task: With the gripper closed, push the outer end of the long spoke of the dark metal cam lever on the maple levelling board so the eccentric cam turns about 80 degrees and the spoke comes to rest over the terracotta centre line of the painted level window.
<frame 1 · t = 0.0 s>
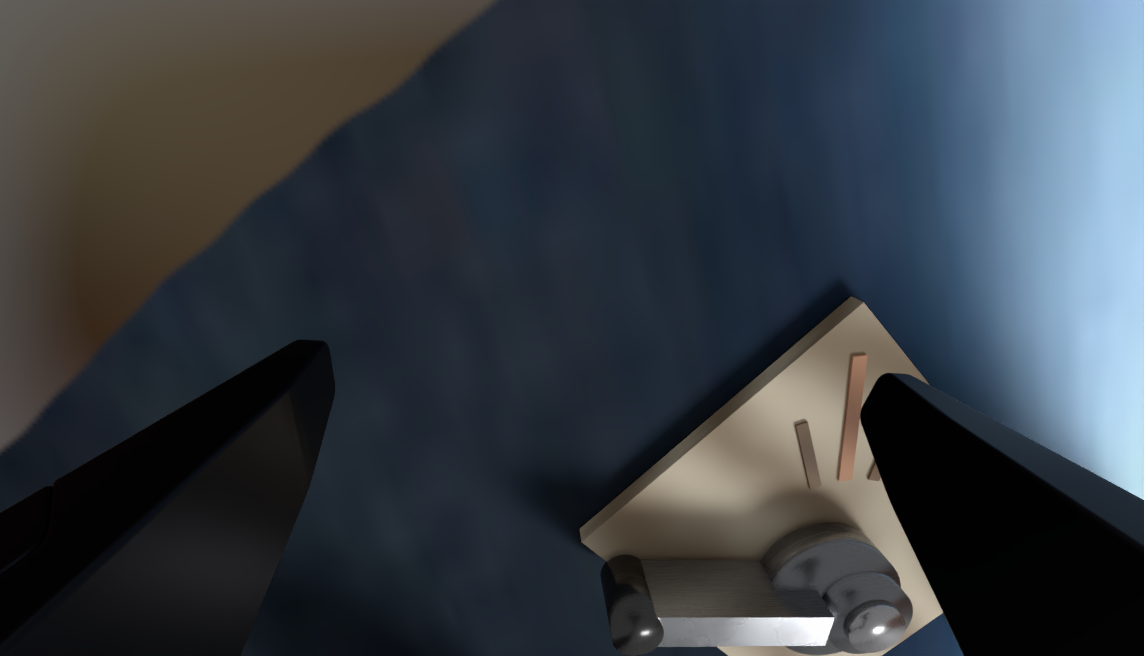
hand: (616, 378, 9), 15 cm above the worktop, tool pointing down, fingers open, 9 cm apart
cam: (756, 602, 27), point 3 cm above the worktop, hinge at 130.0°
level board: (818, 526, 30), on the worktop
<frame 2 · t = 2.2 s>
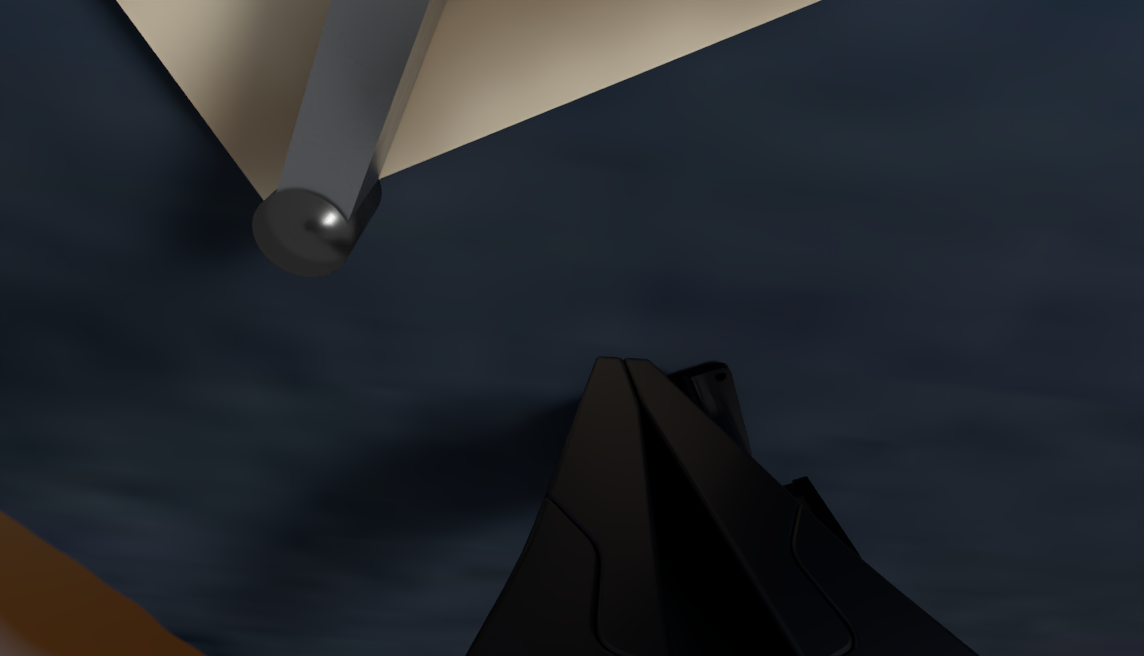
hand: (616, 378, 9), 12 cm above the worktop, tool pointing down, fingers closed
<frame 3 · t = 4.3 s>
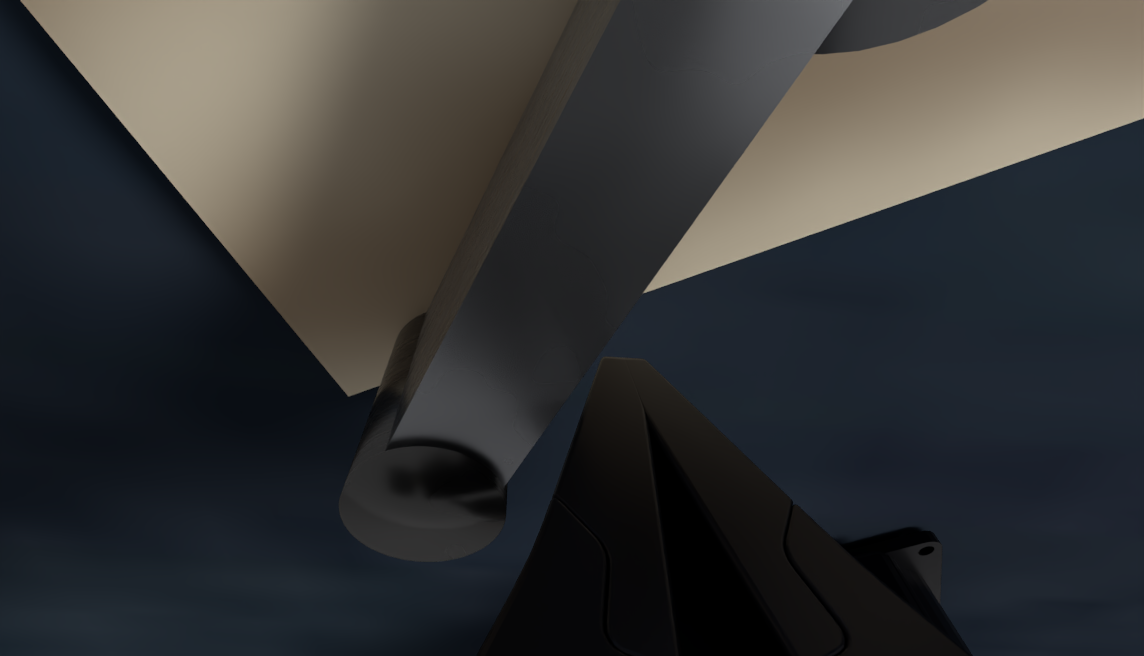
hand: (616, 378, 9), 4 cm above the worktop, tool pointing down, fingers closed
cam: (645, 69, 7), point 3 cm above the worktop, hinge at 130.0°, touching gripper
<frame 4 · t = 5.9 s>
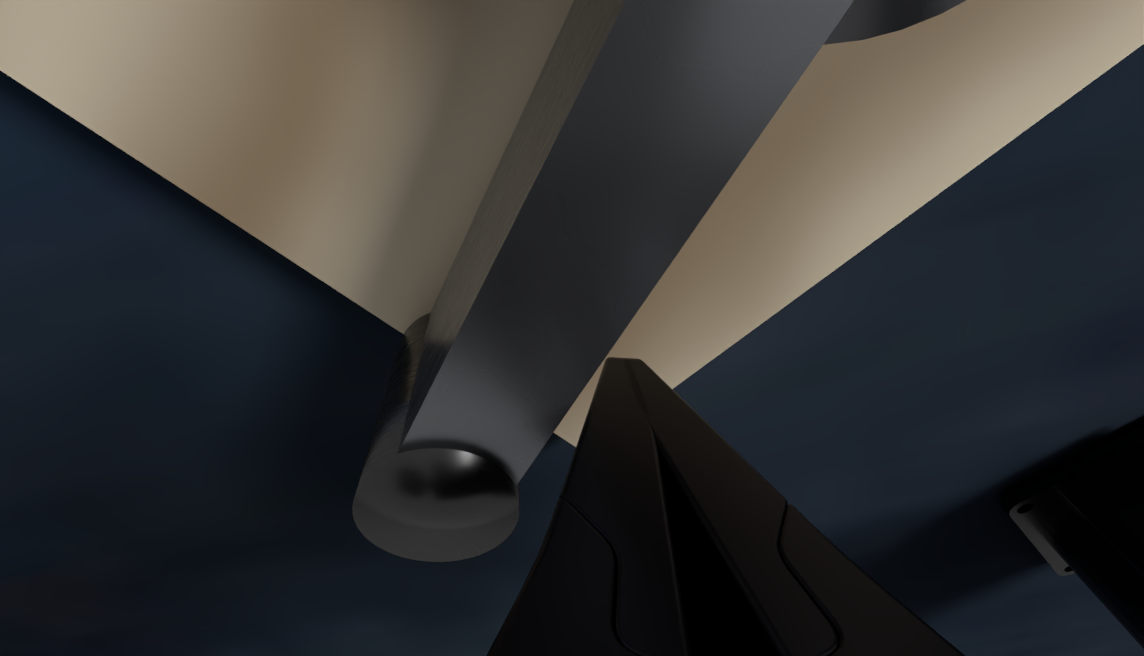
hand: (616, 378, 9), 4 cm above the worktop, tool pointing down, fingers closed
cam: (648, 64, 6), point 3 cm above the worktop, hinge at 107.4°, touching gripper
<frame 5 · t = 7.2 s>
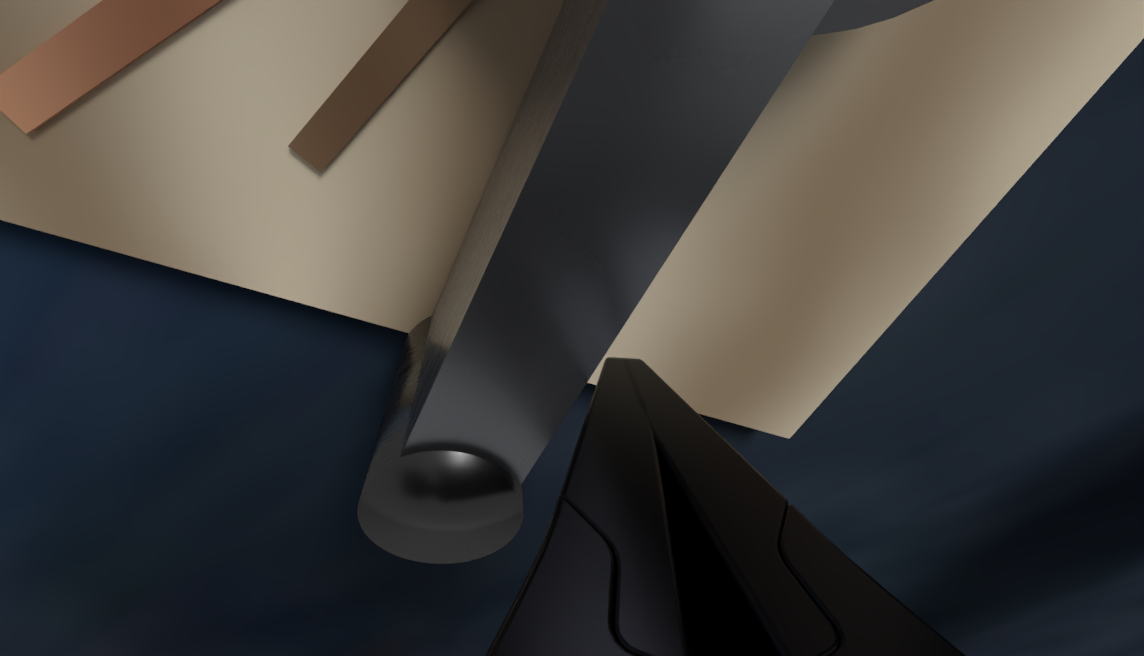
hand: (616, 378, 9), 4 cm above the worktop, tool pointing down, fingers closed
cam: (639, 60, 6), point 3 cm above the worktop, hinge at 86.8°, touching gripper
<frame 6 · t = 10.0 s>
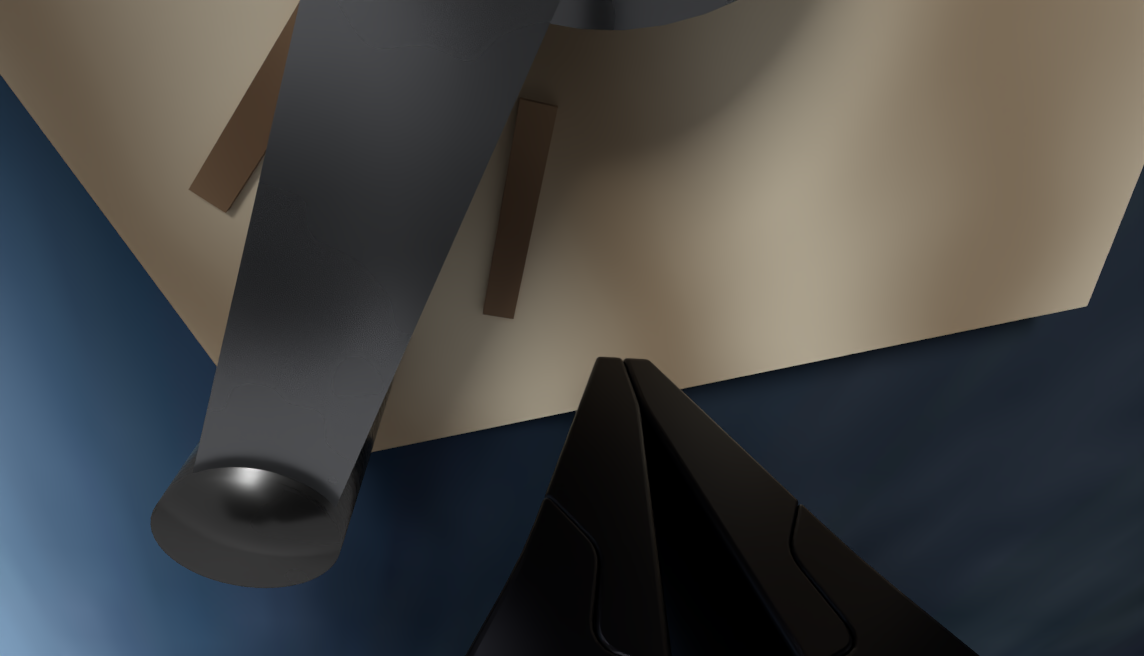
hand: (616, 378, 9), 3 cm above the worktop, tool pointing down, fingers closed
cam: (433, 52, 6), point 3 cm above the worktop, hinge at 50.4°
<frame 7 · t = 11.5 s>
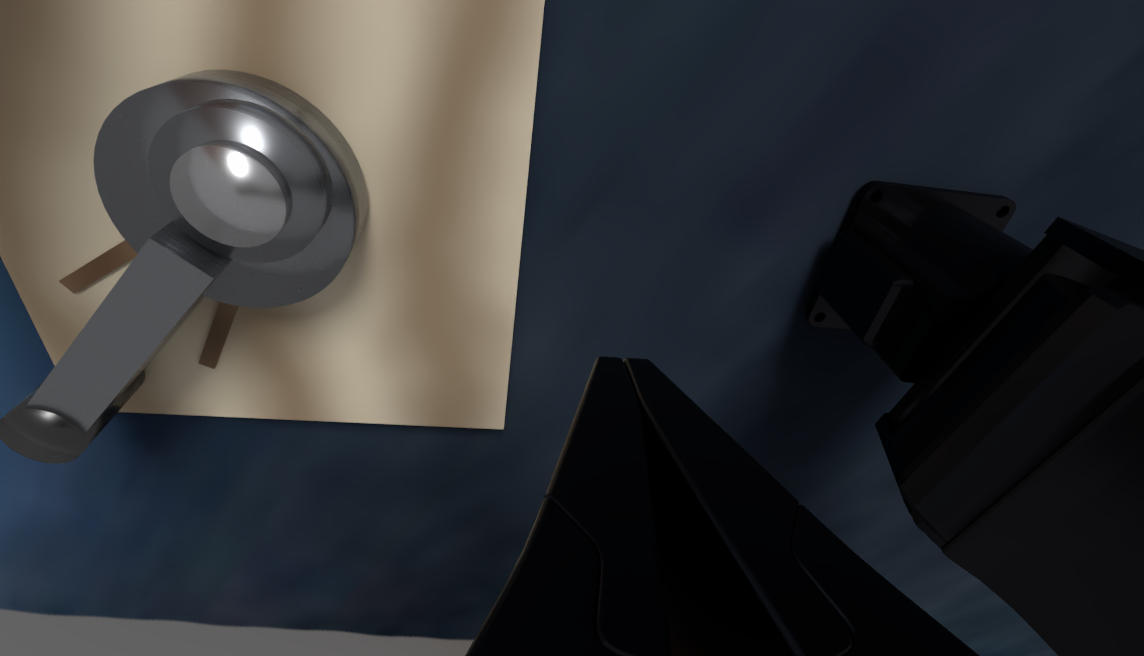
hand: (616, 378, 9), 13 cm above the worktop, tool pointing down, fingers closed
cam: (163, 292, 18), point 3 cm above the worktop, hinge at 50.4°
level board: (272, 198, 19), on the worktop
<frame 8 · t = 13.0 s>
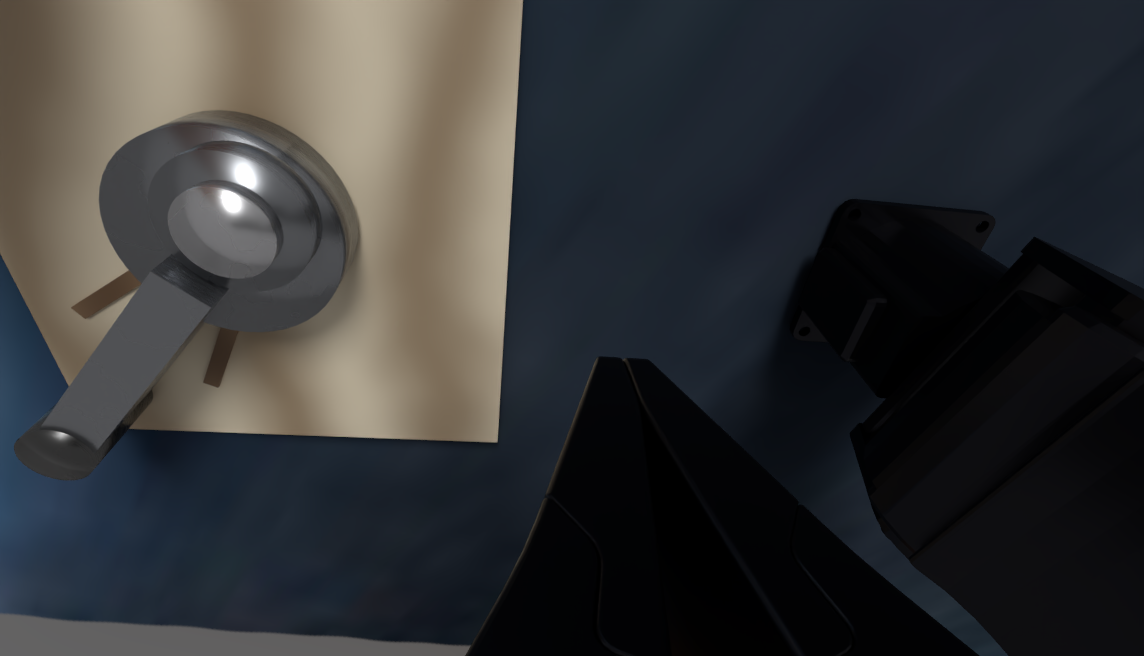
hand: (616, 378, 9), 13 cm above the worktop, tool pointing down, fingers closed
cam: (167, 319, 19), point 3 cm above the worktop, hinge at 50.4°
level board: (269, 226, 20), on the worktop
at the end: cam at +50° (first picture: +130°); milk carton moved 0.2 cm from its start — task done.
